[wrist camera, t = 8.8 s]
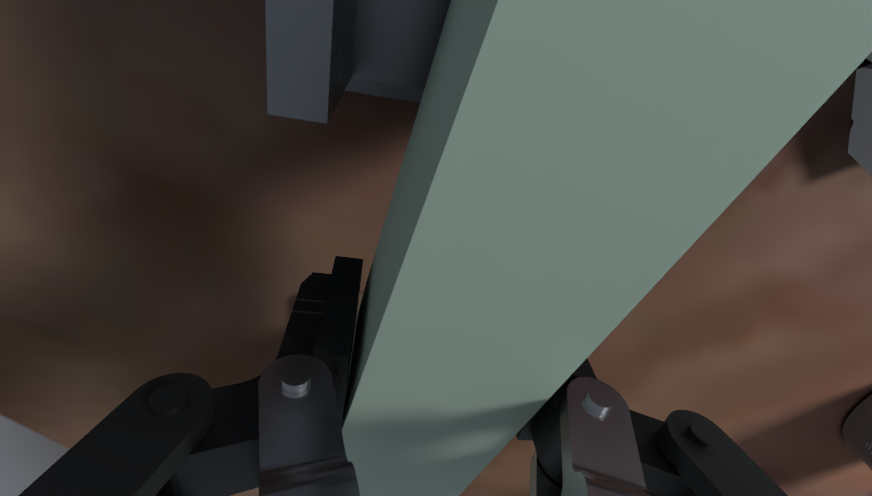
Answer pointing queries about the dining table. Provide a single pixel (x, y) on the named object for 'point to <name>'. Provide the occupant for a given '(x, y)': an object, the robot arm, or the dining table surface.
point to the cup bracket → (347, 52)
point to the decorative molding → (862, 118)
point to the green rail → (561, 202)
